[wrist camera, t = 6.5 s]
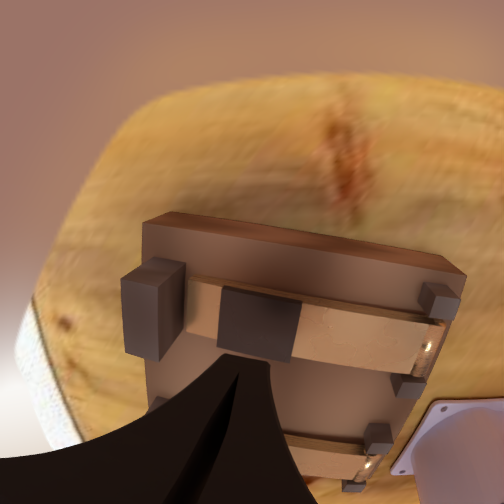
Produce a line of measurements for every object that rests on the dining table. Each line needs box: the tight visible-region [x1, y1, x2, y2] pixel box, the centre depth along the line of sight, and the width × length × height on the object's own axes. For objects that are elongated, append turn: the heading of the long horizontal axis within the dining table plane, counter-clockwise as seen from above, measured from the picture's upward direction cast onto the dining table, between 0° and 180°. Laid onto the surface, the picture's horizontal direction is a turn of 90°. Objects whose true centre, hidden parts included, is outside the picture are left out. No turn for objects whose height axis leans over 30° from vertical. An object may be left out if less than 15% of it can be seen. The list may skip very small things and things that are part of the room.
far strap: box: [284, 434, 382, 482], centre depth 14 cm, size 11×3×1 cm, turn 83°
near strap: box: [186, 274, 446, 377], centre depth 12 cm, size 10×3×1 cm, turn 83°
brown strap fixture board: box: [121, 212, 467, 492], centre depth 14 cm, size 14×14×6 cm
